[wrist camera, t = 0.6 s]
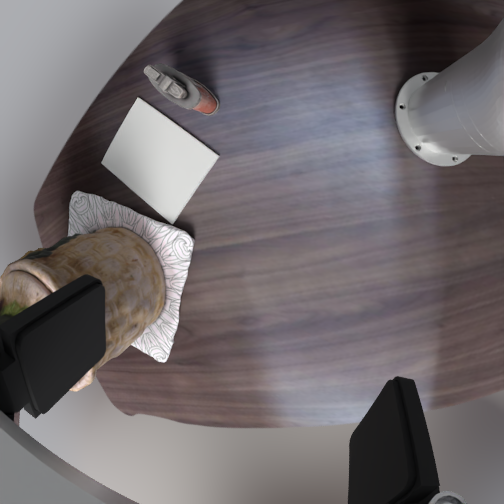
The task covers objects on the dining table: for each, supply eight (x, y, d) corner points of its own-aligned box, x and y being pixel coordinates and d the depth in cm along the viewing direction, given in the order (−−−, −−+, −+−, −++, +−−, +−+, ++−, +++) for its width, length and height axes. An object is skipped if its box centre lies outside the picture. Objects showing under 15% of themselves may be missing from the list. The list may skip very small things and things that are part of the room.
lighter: (225, 102, 38) (197, 87, 29) (209, 121, 39) (177, 112, 30) (185, 70, 38) (149, 52, 28) (170, 89, 39) (131, 75, 30)
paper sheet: (139, 97, 40) (137, 97, 40) (219, 156, 40) (218, 156, 40) (102, 162, 44) (101, 162, 44) (173, 223, 45) (172, 224, 44)
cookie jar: (202, 231, 44) (22, 356, 14) (173, 359, 53) (71, 494, 23) (77, 186, 47) (-88, 233, 17) (70, 304, 55) (-46, 386, 26)
